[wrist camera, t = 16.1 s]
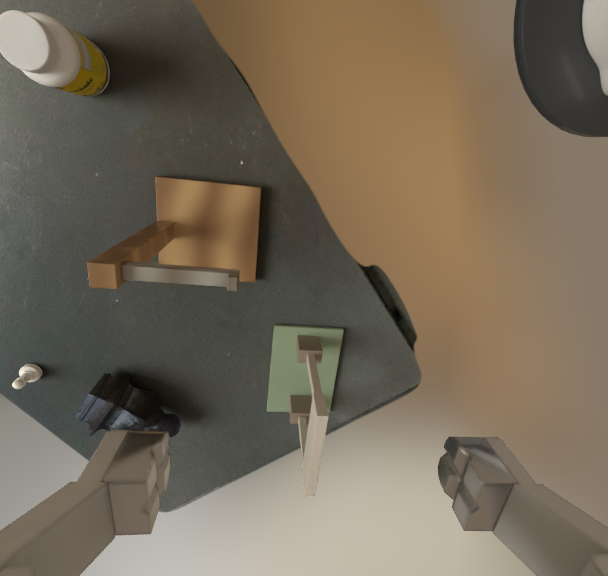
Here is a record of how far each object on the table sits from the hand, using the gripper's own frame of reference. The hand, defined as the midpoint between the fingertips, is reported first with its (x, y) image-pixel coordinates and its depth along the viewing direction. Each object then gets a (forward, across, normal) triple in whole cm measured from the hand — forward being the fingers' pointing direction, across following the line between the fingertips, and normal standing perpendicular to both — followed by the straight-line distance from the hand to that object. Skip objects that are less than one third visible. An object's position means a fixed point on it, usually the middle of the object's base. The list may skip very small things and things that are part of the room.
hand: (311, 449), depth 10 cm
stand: (+36, +9, +2) cm, 37 cm away
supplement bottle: (+36, +22, -14) cm, 44 cm away
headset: (+35, -4, +22) cm, 42 cm away
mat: (+36, -5, +22) cm, 43 cm away
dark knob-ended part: (+36, +20, +28) cm, 49 cm away
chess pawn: (+36, +33, +24) cm, 54 cm away
